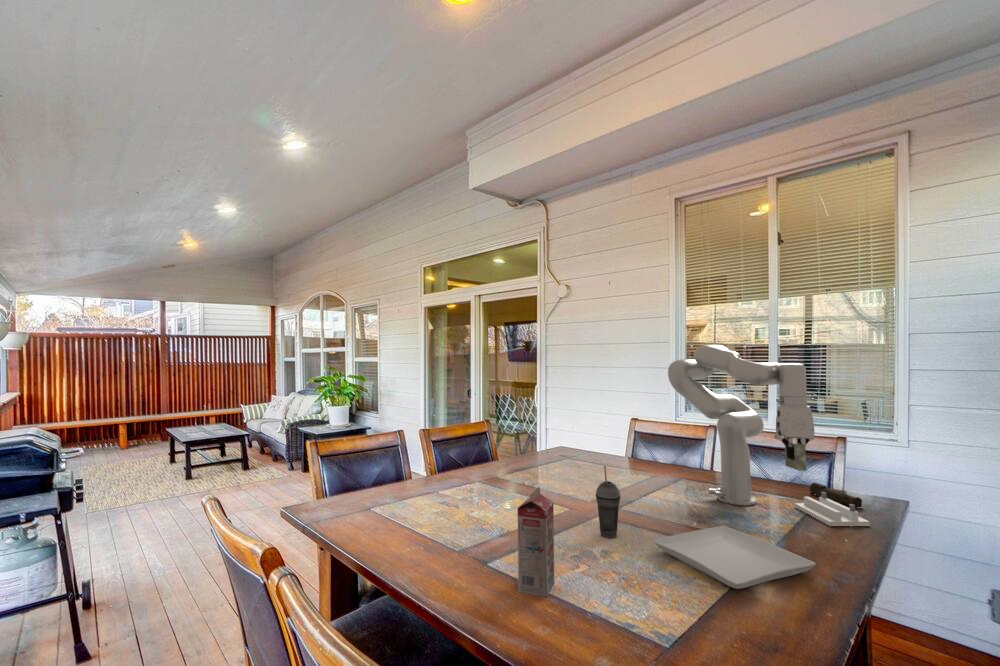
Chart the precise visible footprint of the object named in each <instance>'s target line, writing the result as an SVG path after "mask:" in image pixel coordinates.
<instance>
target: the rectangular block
mask: <svg viewBox="0 0 1000 666" xmlns="http://www.w3.org/2000/svg"><path fill="white" fill-rule="evenodd" d="M793 447H794V460H791V459H789V458H787V455H786V446H785V445H784V455H785V457H784V459H785V466H786V467H789V468H791V469H793V470H797V471H799V472H800V471H802V472H805V471H807V458H806V457H807V456H806V454H807V453H806V446H805V445H804V444H800V443H797V441H794V440H793Z"/></svg>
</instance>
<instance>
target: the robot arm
mask: <svg viewBox="0 0 1000 666" xmlns="http://www.w3.org/2000/svg"><path fill="white" fill-rule="evenodd" d="M716 372H721V373H724V374H728V375H729V376H730V377H731V378H733V379H734V380H737V381H740V382H744V383H747V384H750V385H752V386H753V385H754V386H773V385H774V386H775V385H779V396H778V397H777V398H775V402H776V403H779V405H778V406H777V410H776V414H775V415H776V416H775V435H774V439H775V440H777V441H780V442H782V443H783V445H784V447H785V446H786V455H787V458H789V459H791V460H794V447H793V441H794V440H793V439H796V442H797V443H800V444H804V445H805V447H807V446H806V445H807V444H808V443H809V442H811V441H814V440H815V438H816V437H815V423H814V417H813V413H812V409H811V406H810V405H808V397H807V396H808V395H807V393H808V392H807V369H806V366H805V365H804V364H802V363H781V362H780V363H779V362H755V361H751V360H746V359H743V358H742V357H741V355H740V353H739V352H737V351H734V350H729V348H727V347H726V346H724V345H723V344H704V345H699V346H698V347H697V348H696V349H695V350H694V353H693V358H682V359H677V360H674V361H673V362H672V363H670V365H668V369H667V377H668V381H669V383H670V385H671V386H672V389H673V390H675V391H676V392H677V393H678V394H679V395H681V396H682V397H683V398H685V400H687V401H688V402H689V403H690V404H691V405H692V406H694V408H696V409H697V410H698V411H699V412H700V413H702V415H704V416H705V417H706V418H707V419H709V420H717V424H716V430H717V434H718V439H719V447H720V448H719V449H720V469H721V470H720V472H721V474H720V475H721V480H720V481H721V485H718V487H716V488H708V489H707V492H708V495H714V496H716V497H717V500H718V501H720V502H723V503H725V504H728V503H729V505H733V504H734V505H735V506H752V505H756V504H757V499H756V498H755V496H753V495H752V479H751V473H752V472H751V455H750V454H751V453H750V452H751V451H750V447H749V445H748V442H747V438H753V437H757V436H759V435H760V434H761V433H763V431H764V420H763V419H762V417H761V416H760V415H759V413H757V412H756V411H755V409H753V408H751V407H750V406H749V405H747V404H746V403H745V402H743V400H741V399H740V398H739V397H737V396H735V395H733V394H730V393H715V392H713V391H711V390H710V389H708V388H707V387H706V386H705V385H704V384H702V383H700V382H699V381H697V380H703V379H707V378H709V376H711V375H713V374H714V373H716Z"/></svg>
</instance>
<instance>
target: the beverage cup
mask: <svg viewBox="0 0 1000 666" xmlns="http://www.w3.org/2000/svg"><path fill="white" fill-rule="evenodd" d="M603 472H604V481H603V482H601V483H600V484H598V486H597V488H596V490H595V491H596V492H595V500H596V503H597V511H598V512H597V513H598V522H599V532H600V536H601V538H603V537H604V539H608V540H609V539H611V540H613V539H616V538H617V534H618V525H619V524H618V523H619V509H620V501H621V498H622V497H621V492H620V489H619V488H618V486H617V485H616V484H615V483H613V482H611V481H608V479H607V466H606V465H604V466H603Z"/></svg>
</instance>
